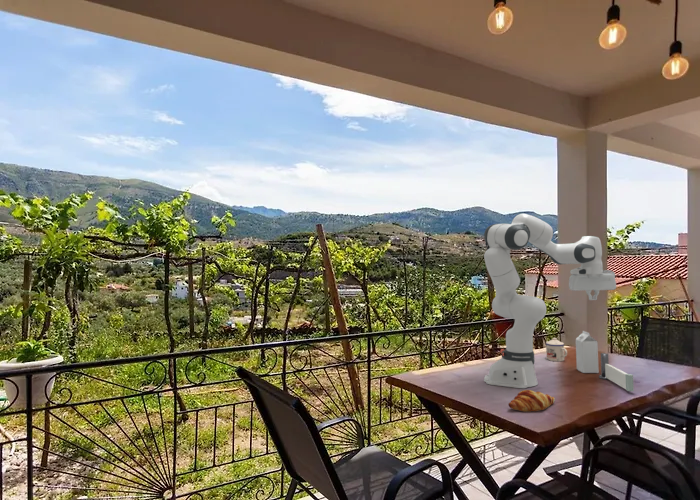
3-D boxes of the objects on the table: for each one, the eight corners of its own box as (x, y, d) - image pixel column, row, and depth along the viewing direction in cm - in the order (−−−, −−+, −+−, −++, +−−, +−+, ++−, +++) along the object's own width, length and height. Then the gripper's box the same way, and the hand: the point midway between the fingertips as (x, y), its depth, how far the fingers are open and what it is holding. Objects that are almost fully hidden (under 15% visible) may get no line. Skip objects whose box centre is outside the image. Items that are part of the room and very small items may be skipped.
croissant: (548, 410, 162) (540, 389, 166) (567, 405, 154) (558, 383, 158) (504, 418, 154) (497, 395, 158) (523, 413, 146) (514, 389, 150)
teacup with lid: (542, 358, 230) (541, 337, 230) (554, 357, 233) (554, 336, 233) (560, 363, 219) (559, 341, 219) (573, 361, 222) (572, 339, 222)
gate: (604, 377, 189) (604, 362, 189) (609, 377, 189) (609, 362, 189) (628, 391, 169) (627, 375, 169) (633, 391, 168) (633, 375, 169)
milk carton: (591, 369, 206) (590, 330, 206) (598, 373, 199) (597, 333, 199) (576, 369, 207) (575, 330, 207) (583, 373, 200) (581, 333, 200)
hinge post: (600, 379, 189) (599, 354, 189) (597, 376, 194) (596, 352, 194) (613, 380, 188) (612, 355, 188) (610, 377, 192) (609, 352, 193)
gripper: (610, 269, 199) (612, 298, 199) (566, 270, 200) (567, 299, 200) (618, 270, 193) (619, 300, 193) (573, 271, 194) (574, 301, 194)
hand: (593, 299), depth 196 cm, fingers closed
